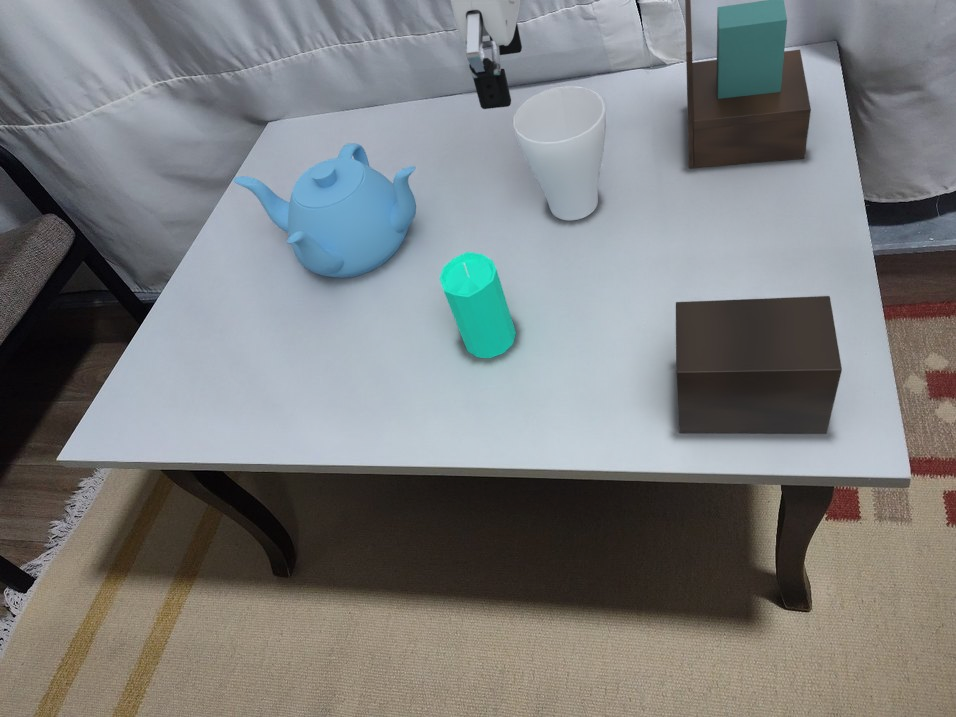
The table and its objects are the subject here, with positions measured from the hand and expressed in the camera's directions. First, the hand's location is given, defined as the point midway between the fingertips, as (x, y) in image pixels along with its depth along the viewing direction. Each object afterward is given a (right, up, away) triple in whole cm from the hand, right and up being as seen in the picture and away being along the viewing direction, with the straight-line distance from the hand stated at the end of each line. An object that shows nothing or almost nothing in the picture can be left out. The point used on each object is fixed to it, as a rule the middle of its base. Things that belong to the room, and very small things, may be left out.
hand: (502, 78), depth 81 cm
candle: (-1, -28, +4) cm, 28 cm away
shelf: (+31, -1, +15) cm, 35 cm away
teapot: (-19, -15, +19) cm, 31 cm away
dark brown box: (+23, -34, -8) cm, 42 cm away
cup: (+10, -11, +14) cm, 20 cm away
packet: (+30, +3, +9) cm, 31 cm away
